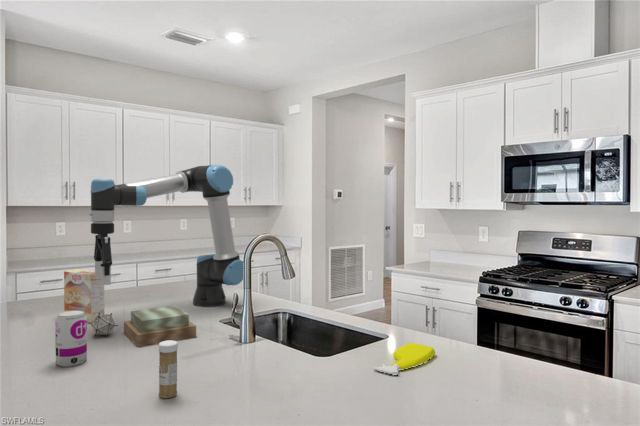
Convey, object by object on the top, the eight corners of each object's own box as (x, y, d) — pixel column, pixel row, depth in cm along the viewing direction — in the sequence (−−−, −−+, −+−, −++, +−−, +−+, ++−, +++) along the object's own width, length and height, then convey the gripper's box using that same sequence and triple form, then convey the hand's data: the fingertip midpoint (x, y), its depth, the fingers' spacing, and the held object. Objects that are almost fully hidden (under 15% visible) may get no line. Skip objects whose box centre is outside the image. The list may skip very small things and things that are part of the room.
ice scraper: (438, 357, 148) (402, 382, 128) (407, 350, 154) (369, 373, 135) (438, 347, 147) (402, 371, 128) (407, 341, 154) (369, 363, 134)
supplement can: (92, 360, 140) (92, 311, 140) (68, 369, 133) (67, 317, 133) (74, 356, 144) (74, 308, 143) (49, 364, 136) (49, 314, 136)
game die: (109, 344, 167) (127, 321, 169) (96, 343, 159) (115, 318, 161) (91, 330, 169) (109, 307, 172) (78, 328, 161) (97, 304, 164)
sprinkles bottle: (155, 395, 116) (155, 342, 116) (171, 389, 120) (171, 338, 119) (165, 400, 113) (165, 346, 113) (181, 394, 117) (181, 342, 116)
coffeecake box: (63, 318, 188) (63, 271, 187) (78, 314, 194) (78, 268, 194) (90, 322, 182) (90, 273, 181) (105, 318, 189) (105, 271, 188)
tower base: (178, 324, 181) (178, 303, 181) (196, 337, 165) (196, 314, 164) (124, 332, 170) (123, 310, 169) (137, 347, 153) (137, 323, 153)
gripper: (85, 221, 172) (85, 277, 173) (97, 224, 152) (97, 288, 152) (107, 220, 177) (107, 275, 177) (121, 224, 156) (121, 286, 157)
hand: (102, 281), depth 165 cm, fingers open, 13 cm apart
